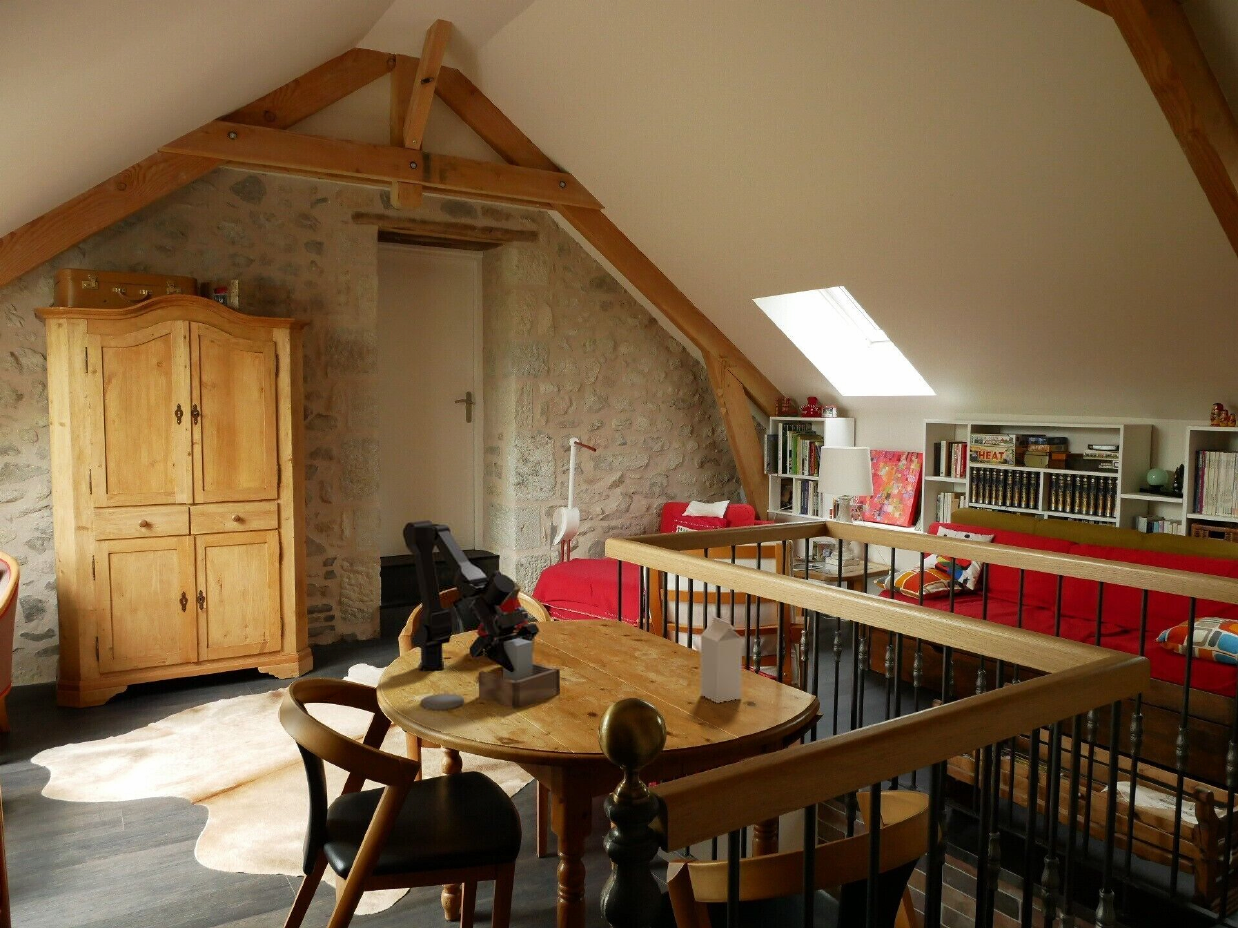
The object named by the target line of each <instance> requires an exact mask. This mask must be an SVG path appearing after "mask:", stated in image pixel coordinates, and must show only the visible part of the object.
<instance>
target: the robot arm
mask: <svg viewBox="0 0 1238 928" xmlns="http://www.w3.org/2000/svg"><path fill="white" fill-rule="evenodd" d="M402 536H403V539H404V542H405V543H404V544H405V547H406V548H407V550H408V551H409V552H410V553H411V554H412V556H413V559H414V565H415V570H416V577H417V582H418V588H419V593H420V601H421V607H422V611H421V613H420V615H419V618H418V630H417V631H416V632H415V634H414V635H413V636H412V638H411V640H412V644H413V646H414V647H417V648H419V649H420V662H419V666H418V667H419V668H418V670H419V671H436V670H444V669H445V660H444V659H443V658H444V657H443V653H444V652H443V645H444V644H448V643H450V640H451V638H452V637H451V636H452V633H453V626H454V623H453V621H452V619H453V618H452V613H451V611H450V610H446V609H445V608H444V607H443V605H442V600H441V596H440V590H439V582H438V576H437V573H436V572H437V570H436V565H435V559H434V554H433V553H434V552H433V551H434V549H435V548H437V550H438V552H439V554H440V555H441V556H442V558H443V560H444V561H445V563H446V564H447V566H448V567H449V569H450V571H451V572H452V574H453V577H454V578H453V584H454V586H455V589H456V590H457V593H458V595H459V596H460V597H461V598H462V599H465V600H466V599H467V600H468V599H472V598H475V599H474V601H470V602H469V606H468V611H467V612H468V614H476V616H477V618H478V619H479V621H480V623H482V625H483V626H482V627H481V628H480V629H481V630H482V632H484V631H486V632H487V635H483V636H477V637H476V639H474V641H473V643H472V644H471V645H470V646H469V654H470V656H471V657H472V659H473V660H474V659H477V658H481V657H483V658H484V659H488V660H490V661H492V662H494V663H496V664H497V665H499V666H500V667H503V668H505V669H506V670H508V671H510V672H511V673H512V672H513V671H514V668H513V665H512V663H511V661H510V660H509V658H508V656H507V654H506V652H505V650H504V642H506V641H509V640H513V639H517V638H520V639H524V640H527V641H532V639H533V638H534V637H535V638H536V636H537V635H538V633H539V632H540V631H541V630H540V629H539V627H538V625H537V624H536V623H534V622H533V623H532V622H531V623H528V624H527V625H523V626H522V627H521V628H520V629H519V630H518V632H516V633H514V632H513V631H514V630H516V629H517V625H518V624H520V623H525V619H527V620H528V618H529V613H528V611H527V609H526V608H525V607H524V606H522V605H521V607H518V608H517V609H515V611H514V612H510V613H507V612H502V611H501V610H500V608H499V606H500V605H502V604H503V603H504V602H505V601H506V599H507V598H508V597H509V596H510V594H511V593H512V592H513V590H514V589H515V584H514V582H513V581H514V580H513V579H512V578H510V577H509V576H507V575H505V574H502V572H501V571H500V570H497V571H493V572H492V573H491V575H490V577H489V578H488V577H487V575H486V574H485V573H484V572H483V570H481V569H480V568H479V567H477V566H475V565H474V564H472V563H471V562H470V561H469V559H468V558H467V556H466V554H465V553H464V552H463V550H462V549H461V546H459V543H458V542H457V541H456V540H455V538H454V536H453V535H452V533H451V529H450V527H449V526H448V525H446V524H440V523H433V522H432V521H431V520H418V521H413V522H412V521H411V522H407V523H406V524H405V525H404V528H403V530H402ZM484 652H485V654H484ZM503 668H502V669H503Z"/></svg>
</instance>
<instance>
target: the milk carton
mask: <svg viewBox="0 0 1238 928" xmlns="http://www.w3.org/2000/svg"><path fill="white" fill-rule="evenodd" d="M734 629H735V627H734V626H733V625H731V622H729V621H727V620H724V619H721V618H718V617H716V616H713V617H712V622H711V623H710V624H709V625H708V626H707V627H706V629H705V630H704V631H703V632H702V633H701V635H700V637H701V639H700V640H701V641H700V645H701V646H700V695H701V696H702V697H704V696H705V698H706V699H707V700H710V699H711V700H710V701H712V702H713V701H714V703H715V702H716V704H720V702H721V703H725V702H724V701H726V702H730V701H731V700H732V701H737V700H741V699H742V675H743V673H742V671H743V664H742V662H743V661H742V660H743V637H742V636H741V635H740V634H738V633H737V632H736V631H735V630H734ZM735 699H736V700H735ZM732 701H731V702H732Z"/></svg>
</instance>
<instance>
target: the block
mask: <svg viewBox="0 0 1238 928" xmlns="http://www.w3.org/2000/svg"><path fill="white" fill-rule="evenodd" d="M504 650H505V652H506V654H507V656H508V658H509V660H510V661H511V663H512V665H513V668H514V671H513V672H512V673H511V672H510V671H508V670H506V669H505V668H502V669H503V671H502V672H503V673H502V674H503V675H502V677H504V678H507V679H510V680H514V681H518V680H521V679H525V678H528V677H531V676H532V662H533V653H532V642H531V641H527V640H524V639H520V638H517V639H513V640H509V641H506V642H504Z"/></svg>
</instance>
